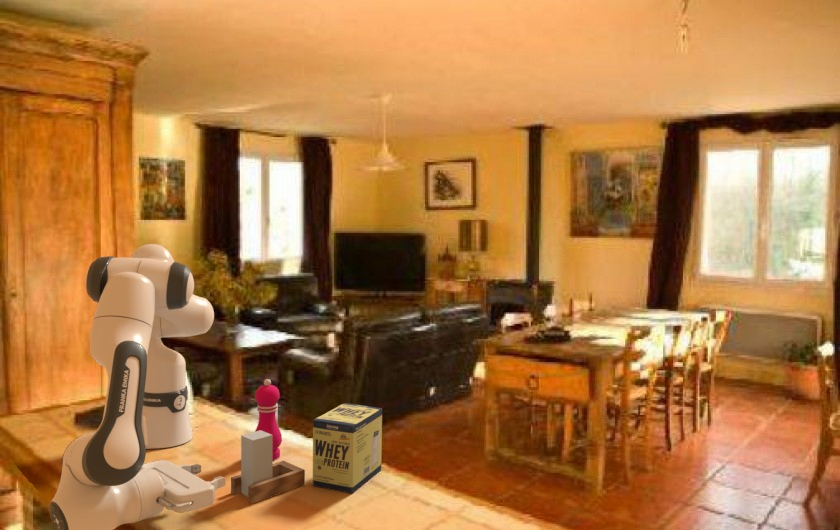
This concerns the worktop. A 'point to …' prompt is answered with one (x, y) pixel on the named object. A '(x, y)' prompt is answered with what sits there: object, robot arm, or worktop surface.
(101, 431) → the robot arm
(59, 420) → the worktop surface
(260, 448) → the tall white pillar
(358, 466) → the protein box
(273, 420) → the pepper mill
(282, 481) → the rack
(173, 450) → the worktop surface
